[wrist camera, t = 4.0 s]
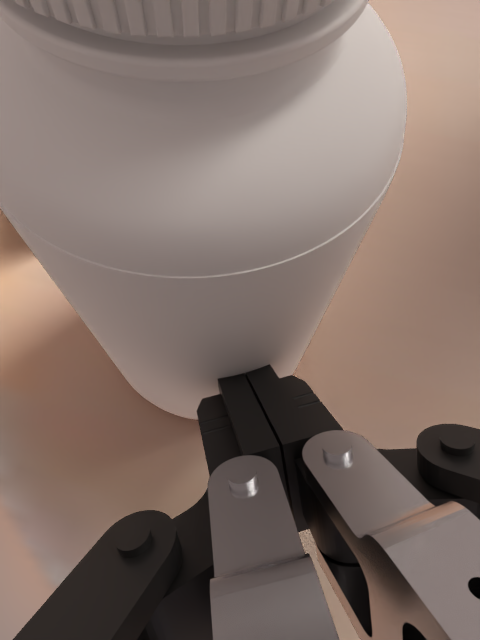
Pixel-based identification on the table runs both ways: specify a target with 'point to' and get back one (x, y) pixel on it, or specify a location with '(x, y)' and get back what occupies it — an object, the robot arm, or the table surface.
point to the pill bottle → (197, 171)
